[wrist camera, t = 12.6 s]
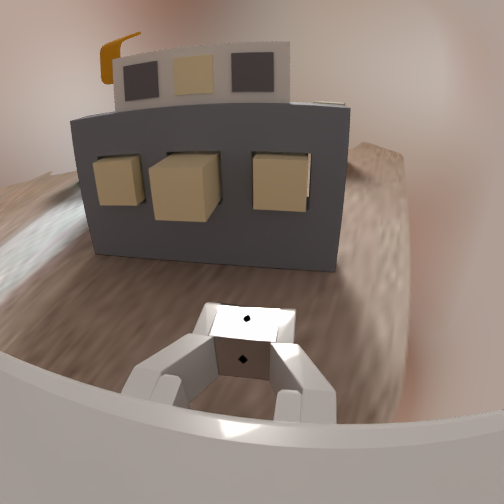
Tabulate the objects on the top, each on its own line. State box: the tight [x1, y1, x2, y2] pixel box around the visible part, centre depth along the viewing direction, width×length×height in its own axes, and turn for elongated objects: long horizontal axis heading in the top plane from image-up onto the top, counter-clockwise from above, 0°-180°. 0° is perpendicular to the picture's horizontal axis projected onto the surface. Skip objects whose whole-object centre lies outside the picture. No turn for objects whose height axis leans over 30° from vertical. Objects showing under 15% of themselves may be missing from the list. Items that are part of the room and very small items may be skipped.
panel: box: [70, 42, 350, 272], centre depth 26 cm, size 24×3×19 cm, turn 81°
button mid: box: [149, 151, 223, 222], centre depth 25 cm, size 4×7×4 cm, turn 171°
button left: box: [93, 153, 146, 206], centre depth 29 cm, size 4×7×4 cm, turn 171°
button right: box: [253, 151, 308, 212], centre depth 27 cm, size 4×7×4 cm, turn 171°
